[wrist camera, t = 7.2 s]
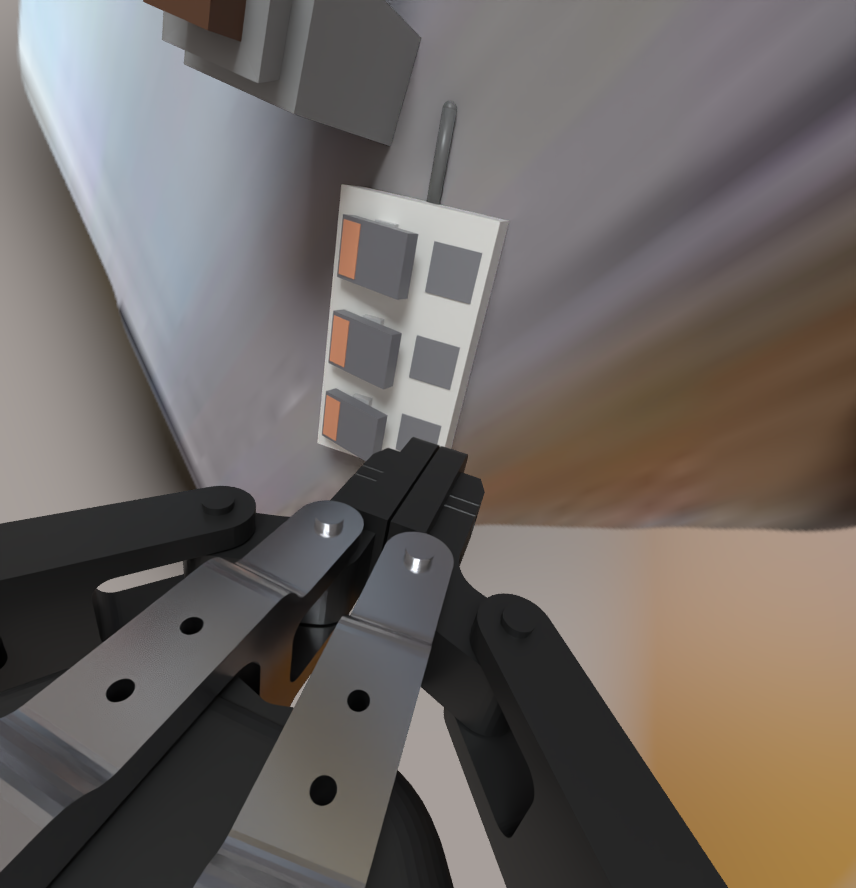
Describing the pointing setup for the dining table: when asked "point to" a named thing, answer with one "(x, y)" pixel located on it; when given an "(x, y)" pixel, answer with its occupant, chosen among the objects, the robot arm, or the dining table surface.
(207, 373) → the dining table surface
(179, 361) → the dining table surface
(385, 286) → the plate
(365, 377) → the block
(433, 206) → the power strip
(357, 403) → the rocker
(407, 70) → the perfume bottle
